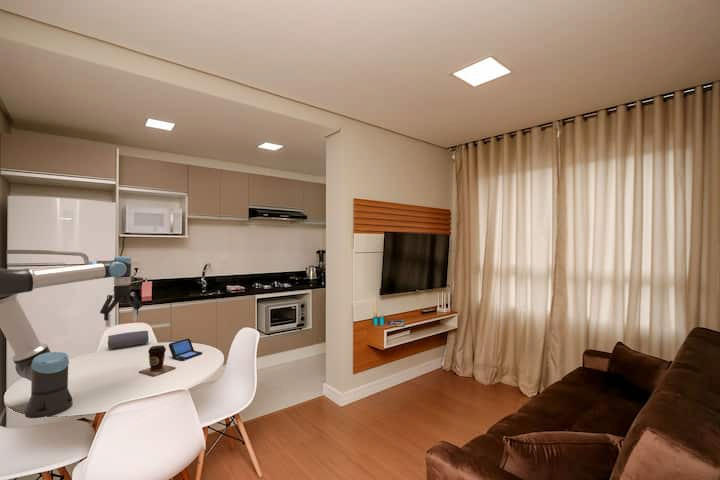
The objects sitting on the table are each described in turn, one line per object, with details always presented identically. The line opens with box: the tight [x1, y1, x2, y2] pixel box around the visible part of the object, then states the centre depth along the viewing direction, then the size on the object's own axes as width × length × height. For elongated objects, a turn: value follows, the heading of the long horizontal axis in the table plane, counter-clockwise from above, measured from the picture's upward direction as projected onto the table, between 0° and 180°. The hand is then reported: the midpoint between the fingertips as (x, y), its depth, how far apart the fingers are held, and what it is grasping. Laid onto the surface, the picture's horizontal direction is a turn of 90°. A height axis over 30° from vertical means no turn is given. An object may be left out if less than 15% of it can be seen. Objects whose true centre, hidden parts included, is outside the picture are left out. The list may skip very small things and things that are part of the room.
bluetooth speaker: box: [107, 330, 150, 349], centre depth 232 cm, size 23×9×10 cm, turn 130°
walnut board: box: [138, 364, 177, 378], centre depth 189 cm, size 13×13×1 cm
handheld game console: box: [168, 338, 203, 362], centre depth 214 cm, size 16×13×9 cm
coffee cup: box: [147, 344, 167, 371], centre depth 188 cm, size 9×8×13 cm
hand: (121, 323), depth 180 cm, fingers open, 13 cm apart
